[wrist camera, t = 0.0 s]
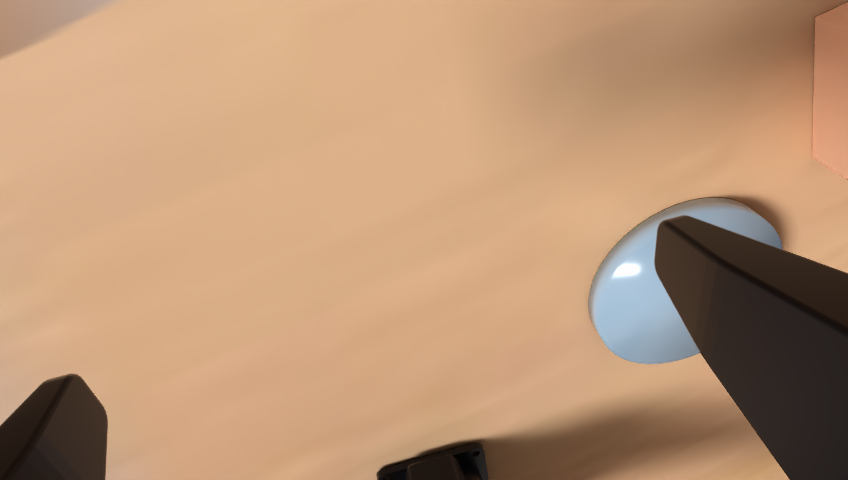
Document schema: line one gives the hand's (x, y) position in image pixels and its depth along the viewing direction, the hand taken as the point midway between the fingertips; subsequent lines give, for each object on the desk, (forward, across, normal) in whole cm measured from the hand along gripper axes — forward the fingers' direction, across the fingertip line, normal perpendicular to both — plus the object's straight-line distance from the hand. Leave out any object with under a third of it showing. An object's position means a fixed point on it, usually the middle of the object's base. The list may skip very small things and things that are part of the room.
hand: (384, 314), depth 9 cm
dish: (+15, -15, +16) cm, 27 cm away
